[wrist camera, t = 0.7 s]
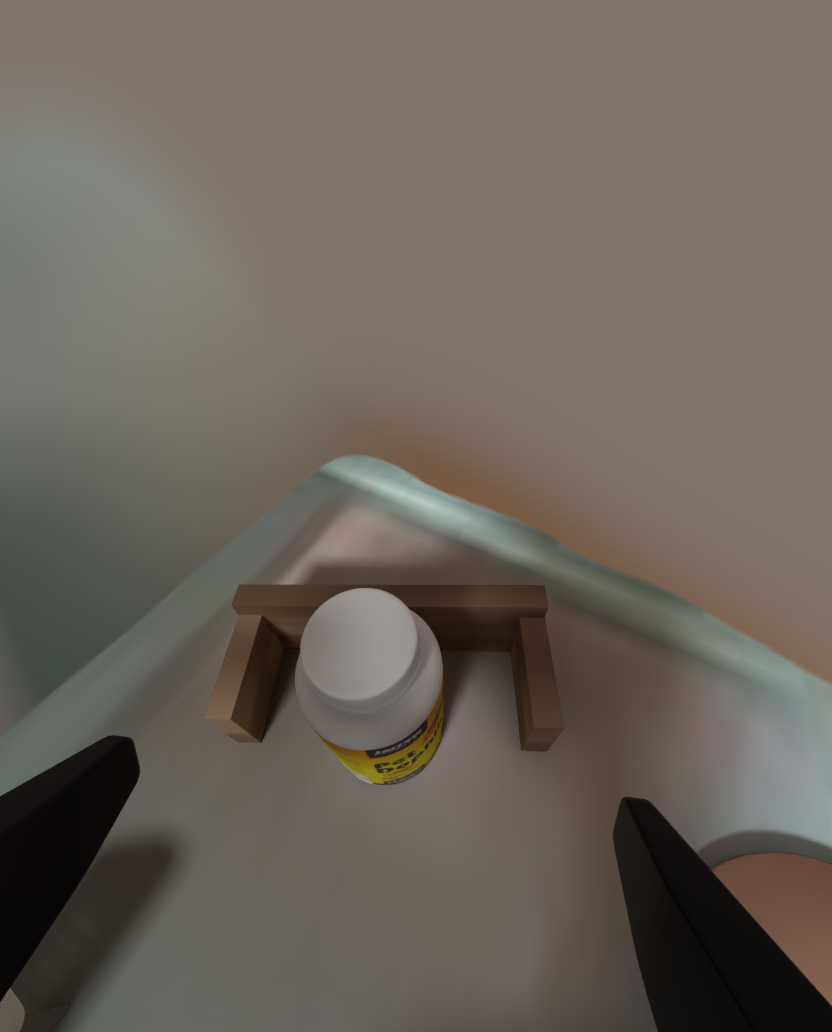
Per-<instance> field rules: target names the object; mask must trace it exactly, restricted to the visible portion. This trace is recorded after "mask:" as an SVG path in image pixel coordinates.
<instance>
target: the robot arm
mask: <svg viewBox="0 0 832 1032" xmlns="http://www.w3.org/2000/svg"><path fill="white" fill-rule="evenodd" d="M139 774H140V766H139V762H138V757H137V753H136V749H135V745H134V742H133V740H132V739H131V738H130V737H124V736H116V735H111V736H107V737H105V738H103V739H101V740H99V741H97V742H96V743H94V744H92V745H90V746H89V747H87V748H85V749H83V750H81V751H80V752H78V753H76V754H74V755H73V756H71V757H69V758H67V759H66V760H64V761H62V762H60V763H58V764H57V765H55V766H53V767H51V768H50V769H48V770H46V771H44V772H42V773H41V774H39V775H37V776H35V777H34V778H32V779H30V780H28V781H27V782H25V783H23V784H21V785H19V786H18V787H16V788H14V789H12V790H11V791H9V792H7V793H5V794H3V795H2V796H0V1002H1V1001H2V999H3V998H4V996H5V995H6V993H7V992H8V990H9V989H10V987H11V986H12V984H13V983H14V981H15V980H16V978H17V977H18V975H19V974H20V972H21V971H22V969H23V968H24V966H25V965H26V963H27V962H28V960H29V959H30V957H31V956H32V954H33V953H34V951H35V950H36V948H37V947H38V945H39V944H40V942H41V941H42V939H43V937H44V936H45V934H46V933H47V931H48V930H49V928H50V927H51V925H52V924H53V922H54V921H55V919H56V918H57V916H58V915H59V913H60V912H61V910H62V909H63V907H64V906H65V904H66V903H67V901H68V900H69V898H70V897H71V895H72V894H73V892H74V891H75V889H76V888H77V886H78V885H79V883H80V881H81V880H82V878H83V877H84V875H85V873H86V872H87V870H88V868H89V867H90V865H91V863H92V862H93V860H94V858H95V856H96V855H97V853H98V851H99V849H100V848H101V846H102V844H103V842H104V840H105V839H106V837H107V835H108V833H109V832H110V830H111V828H112V826H113V824H114V823H115V821H116V819H117V817H118V816H119V814H120V812H121V810H122V808H123V807H124V805H125V803H126V801H127V800H128V798H129V796H130V794H131V792H132V791H133V789H134V787H135V785H136V783H137V781H138V778H139ZM613 841H614V848H615V853H616V858H617V863H618V868H619V873H620V878H621V883H622V887H623V892H624V897H625V902H626V907H627V912H628V917H629V922H630V927H631V932H632V937H633V942H634V946H635V951H636V955H637V960H638V964H639V968H640V971H641V975H642V979H643V982H644V986H645V989H646V993H647V996H648V1000H649V1003H650V1007H651V1010H652V1013H653V1017H654V1020H655V1024H656V1027H657V1031H658V1032H832V1005H831V1004H830V1003H829V1002H828V1001H827V1000H826V999H825V997H824V996H823V995H822V994H821V993H820V992H819V991H818V990H817V988H816V987H815V986H814V985H813V984H812V983H811V982H810V981H809V979H808V978H807V977H806V976H805V975H804V974H803V973H802V972H801V970H800V969H799V968H798V967H797V966H796V965H795V964H794V963H793V961H792V960H791V959H790V958H789V957H788V956H787V955H786V954H785V952H784V951H783V950H782V949H781V948H780V947H779V946H778V945H777V943H776V942H775V941H774V940H773V939H772V938H771V937H770V936H769V934H768V933H767V932H766V931H765V930H764V929H763V928H762V927H761V925H760V924H759V923H758V922H757V921H756V920H755V919H754V918H753V916H752V915H751V914H750V913H749V912H748V911H747V910H746V909H745V907H744V906H743V905H742V904H741V903H740V902H739V901H738V900H737V898H736V897H735V896H734V895H733V894H732V893H731V892H730V891H729V889H728V888H727V887H726V886H725V885H724V884H723V883H722V882H721V880H720V879H719V878H718V877H717V876H716V875H715V874H714V873H713V871H712V870H711V869H710V868H709V867H708V866H707V865H706V864H705V863H704V861H703V860H702V859H701V858H700V857H699V856H698V855H697V854H696V852H695V851H694V850H693V849H692V848H691V847H690V846H689V845H688V843H687V842H686V841H685V840H684V839H683V838H682V837H681V836H680V834H679V833H678V832H677V831H676V830H675V829H674V828H673V827H672V825H671V824H670V823H669V822H668V821H667V820H666V819H665V818H664V816H663V815H662V814H661V813H660V812H659V811H658V810H657V809H656V807H655V806H654V805H653V804H652V803H651V802H649V801H648V800H645V799H640V798H632V797H624V798H623V799H622V800H621V802H620V805H619V809H618V813H617V818H616V822H615V826H614V830H613Z"/></svg>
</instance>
